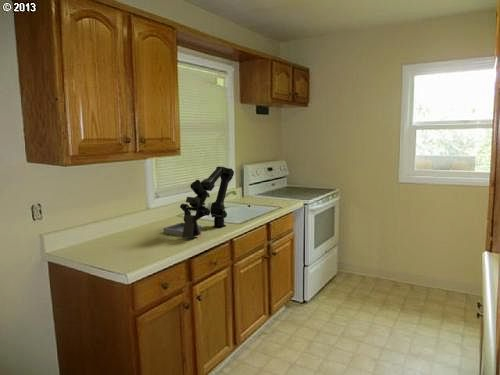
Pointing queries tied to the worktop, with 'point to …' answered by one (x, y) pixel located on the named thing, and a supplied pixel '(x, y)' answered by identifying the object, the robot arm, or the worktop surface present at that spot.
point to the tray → (176, 229)
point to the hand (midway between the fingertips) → (188, 221)
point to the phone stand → (190, 227)
